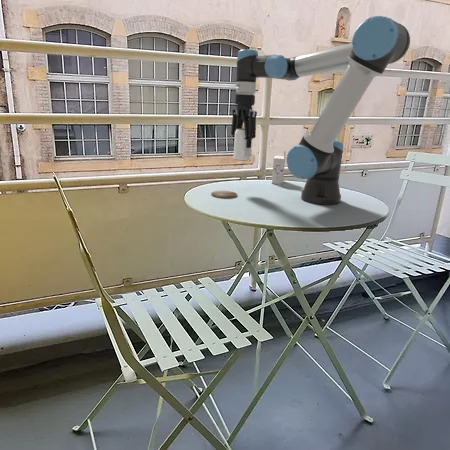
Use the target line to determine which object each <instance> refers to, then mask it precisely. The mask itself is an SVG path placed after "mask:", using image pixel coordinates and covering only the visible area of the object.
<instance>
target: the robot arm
mask: <svg viewBox="0 0 450 450" xmlns="http://www.w3.org/2000/svg"><path fill="white" fill-rule="evenodd" d="M410 44H411V35H410V33H409V30H408V29H407V27H406V26H404V25H403V24H401V23H399V22H397V21H395V20H394V19H392V18H390V17H388V16H383V15H375V16H371V17H369V18H367V19H365V20H363V21H362V22H361V23H360V24H359V25H358V26H357V27H356V29H355V30H354V33H353V36H352V38H351V42H349V43H345V44H342V45H337V46H334V47H330V48H325V49H321V50H316V51H313V52H312V51H311V52H309V53H305V54H300V55H297V56H293V57H288V58H287V57H285V56H284V55H281V54H269V55H267V54H266V55H265V54H264V55H259V52H258V50H255V49H244V48H243V49H240V50H238V52H237V59H236V79H235V80H236V81H235V92H236V93H235V95H234V97H235V98H234V103H235V105H236V107H237V108H233V109H232V120H231V130H230V131H231V132H230V134H231V135H233V140H234V139H235V131H236V129H237V128H243V126H244V129H245V135H246V138H244V154H243V156H250V157H251V148H252V142H253V141H252V140H253V139H256V137H257V136H256V134H257V133H256V132H257V131H256V130H257V126H256V125H257V114H258V112H257V111H256V110H253V106H254V105H255V102H256V101H255V99H256V96H255V94H256V89H257V87H256V85H257V78H264V79H268V78H269V79H274V80H284V81H285V80H286V81H296V80H298V79H299V78H302V77H306V76H313V75H319V74H323V73H328V72H333V71H338V70H342V69H345V71H344V73H343V74H342V75H341V78H340V80H339V81H338V82H337V85H336V87H335V88H334V90H333V92H332V93H331V96H330V97H329V99H328V101H327V103H326V104H325V106H324V108H323V110H322V112H321V113H320V115H319V117H318V118H317V120H316V122H315V123H314V125H313V127H312V128H311V130H310V132H307V133H304V134H303V135H302V137H301V140H300V141H299V142H298V144H296V145H295V146H293V147H292V148H290V150H289V151H288V152H287V154H286V159H285V163H286V165H287V168H288V171H289V173H290V174H291V175H292V176H293V177H295V178H296V179H300V180H306V182H305V185H304V187H303V190H302V191H301V195H300V198H301V200H303V201H304V202H308V203H311V204H316V205H337V204H340V203H341V199H342V194H341V190H340V184H339V181H340V180H339V179H340V173H341V167H342V159H343V154H344V144H343V142H341V141H337V140H336V139H337V138H338V137H339V135H340V133H341V132H342V131H343V128H344V127H345V125H346V123H347V122H348V120H349V119H350V117H351V115H352V113H353V112H354V110H355V109H356V107H357V106H358V104H359V102H360V101H361V99H362V97H363V96H364V95H365V92H366V91H367V90H368V88H369V86H370V84H371V83H372V81H373V80H374V78H376V77H379V76H381V75H383V74H384V72H385V70H386V69H387V67H388V65H389V64H394V63H396V62H399V61H400V60H401V59H402V58H404V56H405V55H406V53H407V52H408V50H409V49H410ZM248 135H249V136H248Z"/></svg>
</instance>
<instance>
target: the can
mask: <svg viewBox="0 0 450 450" xmlns="http://www.w3.org/2000/svg"><path fill="white" fill-rule="evenodd" d="M248 136H249V135H248ZM244 138H246V135H245V127H244V128H243V127H242V128H237V129H236V131H235V139H234V138H233V144H234V145H233V159H234V160H235V161H238V162H239V161H242V162H247V161H249V160H250V158H251V155H250V156H243V154H244Z"/></svg>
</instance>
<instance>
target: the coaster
mask: <svg viewBox="0 0 450 450" xmlns="http://www.w3.org/2000/svg"><path fill="white" fill-rule="evenodd" d="M211 197H214V198H217V199H234V198H237V197H238V193H236V192H234V191H231V190H215V191H212V192H211Z"/></svg>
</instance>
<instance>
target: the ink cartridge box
mask: <svg viewBox="0 0 450 450" xmlns="http://www.w3.org/2000/svg"><path fill="white" fill-rule="evenodd" d="M286 158H287V154H286V149H285V150H284V152H283V155H275V156H274V157H273V164H272V167H273V168H272V176H271V177H272V179H271V184H272V185H283V182H284V176H285V175H284V174H285V168H286V167H285V166H286Z"/></svg>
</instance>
